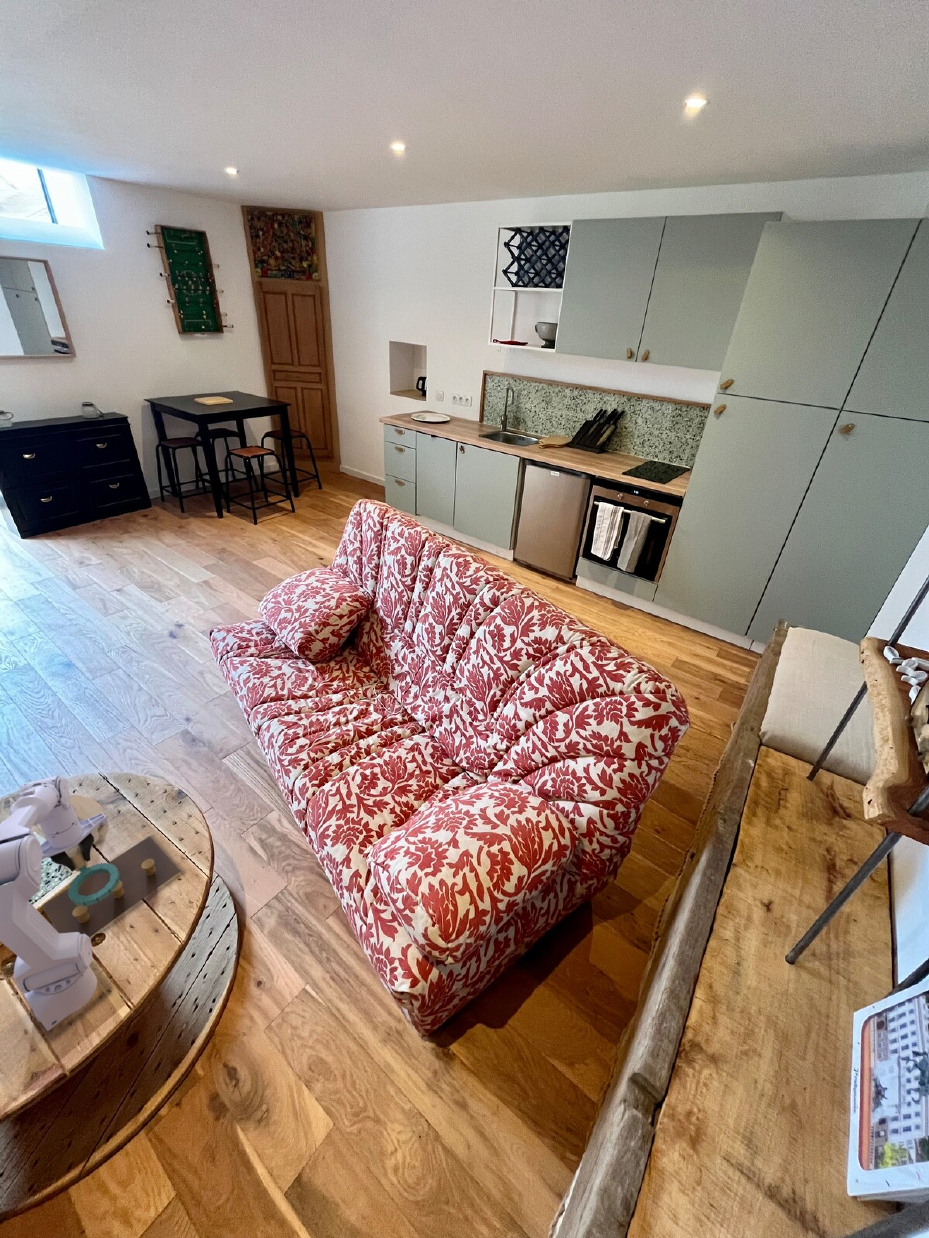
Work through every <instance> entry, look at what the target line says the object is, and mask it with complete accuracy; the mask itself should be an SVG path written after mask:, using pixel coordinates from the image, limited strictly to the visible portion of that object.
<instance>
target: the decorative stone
mask: <svg viewBox="0 0 929 1238" xmlns="http://www.w3.org/2000/svg"><path fill="white" fill-rule="evenodd" d="M70 803H71V805H72V807H73V809H74V811H75V814H76V816H77V818H78V820H79V822H80V821H83V820H86V819H88V818H91V817H94V816H96V815H98V814H100V813H103V814H104V815H105V816H106V818H107V819H108V815H107V812H106V811H105V810H104V808H103V806H102V804H100V802H98V801H97V800H95V799H93V798H89V797H87V796H83V795H81V794H72V795H71V802H70ZM101 826H103V825H102V824H101V825H100V826H98V827H96V828H95V829H94V830H93V831H92V832H91V834H92V835H93V837H94V842H93V844H95V843H96V842H97V841H98V840H99V839H100V834H99V829H100V827H101Z"/></svg>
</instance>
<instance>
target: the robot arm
mask: <svg viewBox="0 0 929 1238" xmlns="http://www.w3.org/2000/svg"><path fill="white" fill-rule="evenodd" d="M19 791H20V792H19V795H18V799H16V801H15V802H14V803H13V804H12V805H11V806H10V809H9V812H8V813H9V815H8V817H7V818H5V819H4V820H3V821H2V822H1V823H0V943H2V944H3V945H4V946H5V947H6V948H7V949H8V950H10V951H11V952H12V953H13V954H15V956H16V959H15V963H14V967H13V979H14V980H15V981H16V986H17V988H18V990H19V991H20V992H21V993H23V995H24V998H25V999H26V1001H27V1003H28V1005H29V1007H30V1008H31V1010H32V1012H33V1013H34V1017H35V1019H36V1020H37V1021H38V1023H41V1025H42V1026H43V1027H44V1029H45V1030H46V1031H47V1032H49V1031H51V1030H52V1029H54V1028H55V1027H56V1026H57V1025H58V1024H60V1023H61V1022H62V1021H63V1020H65V1019H66V1018H68V1017H69V1016H71V1015H72V1014H74V1013H76V1012H77V1011H79V1010H81V1009H82V1008H83V1007H85V1006H86V1005H87V1004H89V1002H90V1001H91V1000H92V998H93V996H94V995H95V993H96V991H97V988H98V979H97V976H96V975H95V973H94V971H93V970H92V968H91V963H92V959H93V945H92V940H91V937H90V938H89V936H87V935H86V934H80V933H79V932H71V933H58V931H57V930H56V928H55V927H54V926H53V925H52V923H50V922H49V921H48V920H47V919H46V918H45V917H44V916H43V915H42V914H41V912H40V911H39V910H38V909H37V908H36V907H35V906H34V905H33V904H32V902H30V900H31V899H32V898H33V897H34V896H35V895H37V893H39V892H40V891H41V883H42V861H43V860H44V859H47V858H50V860H51V861H52V862H53V863H54V864H56V865H61V866H63V867H65V868H67V869H69V870H70V872H74V871H75V870H76V869H75V867H74V866H73V865H72V863H71V861H70V859H69V856H68V852H66V851H70V850H72V849H74V848H75V847H76V846H78V848H80V849H81V851H82V853H83V855H84V857H85V860H86V862H87V863H89V862H90V861H91V851H92V847H93V844H94V843H93V842H94V837H93V835H92V834H91V832H92V831H93V830H94V829H95V828H96V827H98V826H100V825H101V824H102V825H101V826H105V825H107V824H109V821H108V817H107V818H106V816H105V815H104V814H103V813H100V814H98V815H96V816H94V817H91V818H88V819H86V820H83V821H80V822H79V820H78V818H77V816H76V814H75V811H74V809H73V807H72V805H71V803H70V802H71V796H72V795H71V793H70V790H69V784H68V781H67V778H66V777H65V776H60V775H55V776H51V777H47V778H41V779H38V780H33V781H29V782H27V783H22V785H21V786H20V790H19ZM37 825H39V826H40V828H41V831H42V832H43V834H44V836H45V838H46V840H45V841H43V842H42V843H40V841H39V839H38V838H37V837H36V835H35V833H34V831H33V830H32V827H35V826H37ZM101 826H100V827H101Z"/></svg>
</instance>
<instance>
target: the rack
mask: <svg viewBox="0 0 929 1238" xmlns="http://www.w3.org/2000/svg"><path fill="white" fill-rule="evenodd" d="M108 863H109V864H113V865H114V866H115V867H116V868H117V869H118V871H119V873H120V877H119V883H118V885H117V886H116V888H115V889H114V890H113V892H112V893H110V895H109V896H107V897H106V898H104V899H103V900H101V901H100V902H99V901H98V903H95V904H92V905H88V906H86V905H85V906H80V905H75V904H74V903H73V902H72V900H71V899H70V897H69V895H68V891H69V888H67V889H66V890H64V891H63V892H61V893H60V894H58V895H59V896H58V895H56V896H54V897H53V898H54V899H53V898H52V899H50V900H49V901H47V902H45V903H44V904H43V905H41V908H42V909H43V911H44V913H45V914H46V915H47V917H48V919H49V920H50V922H51V924H52V926H53V928H54V929H55V930H56V931H57V932H58V933H71V932H79V933H80V934H86V935H87V936H89V938H90V939H91V937H92V936H94V935H95V934H97V933H98V932H100V931H101V930H102V929H104V927H107V925H109V924H111V923H112V922H113V921H114V920H116V919H117V918H119V917H120V916H122V915H123V914H124V913H125V912H127V911H128V910H129V909H131V908H133V906H135V905H136V904H138V903H139V902H140V901H142V900H143V899H145V898H146V897H147V896H149V895H150V894H152V893H153V892H154V891H156V890H157V889H158V888H160V887H161V886H162V885H164V884H165V883H166V882H168V881H169V880H171V879H173V877H175V876H176V875H177V874H179V873H181V869H180V868H179V867H178V866H177V865H176V864H175V862H173V860H172V859H171V858H170V857H169V856H168V855H167V853H166V852H164V850H163V849H162V848H161V847H160V846H159V845H158V844H157V842H156V841H155V840H154V839H153V838H152V837H151V836H147V837H146V838H144V839H143V840H141V841H140V842H137V844H135V845H134V846H132V847H130V848H129V849H128V850H127V849H126V851H124V852H123V853H121V854H120V855H118V856H117V857H115V858H114V859H112V860H110V861H109V862H108ZM109 881H110V874H109V873H104V872H101V873H98V874H94V875H92V876H91V877H89V878H87V879H86V880H85V881H84V882H83V883H82V884H81V886H80V887H79V891H78V894H79V895H83V896H89V895H92V894H95V893H97V892H99V891H100V890H102V889H103V888H104V887H105V886H106V885H107V883H108V882H109ZM42 906H43V907H42Z"/></svg>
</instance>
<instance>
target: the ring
mask: <svg viewBox="0 0 929 1238" xmlns="http://www.w3.org/2000/svg"><path fill="white" fill-rule="evenodd" d="M67 855H68V856H69V859H70V861H71V863H72V865H73V866H74V867H75V869H76V870H74V871H75V872H79V874H77V875H76V876H75V878H74V879H73V880H72V881H71V883H70V884H69V887H68V889H69V891H68V895H69V897H70V899H71V900H72V902H73V903H74V904H75V905H80V906H85V905H86V906H88V905H92V904H95V903H98V901H99V902H100V901H101V900H103V899H104V898H106V897H107V896H109V895H110V893H112V892H113V890H114V889H115V888H116V886H117V885H118V883H119V877H120V873H119V871H118V869H117V868H116V867H115V866H114V865H113V864H109V862H100V863H97V864H92V865H91V866H88V862H87V861H86V860H85V857H84V855H83V853H82V851H81V849H80V848H79V847H73V848H71V849H69V850H68V852H67ZM87 866H88V867H87ZM101 872H104V873H109V874H110V881H109V882H108V883H107V885H106V886H105V887H104V888H103V889H102V890H100V891H99V892H97V893H95V894H92V895H89V896H83V895H79V894H78V891H79V887H80V886H81V884H82V883H83V882H84V881H85V880H86V879H87V878H89V877H91V876H92V875H94V874H98V873H101Z"/></svg>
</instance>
